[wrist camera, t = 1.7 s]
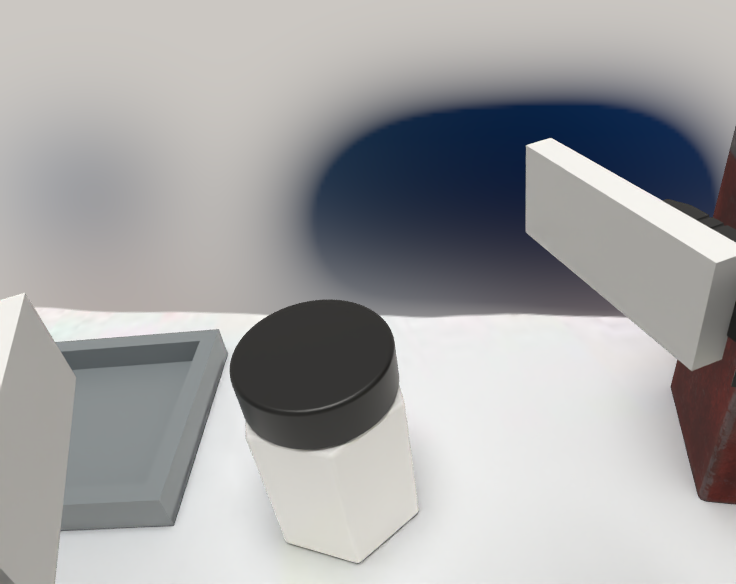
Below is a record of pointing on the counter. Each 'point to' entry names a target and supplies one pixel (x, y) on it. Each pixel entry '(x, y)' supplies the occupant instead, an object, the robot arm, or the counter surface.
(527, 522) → the counter surface
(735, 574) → the counter surface
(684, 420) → the red square bottle
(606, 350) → the counter surface
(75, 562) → the counter surface
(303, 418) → the jar
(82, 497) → the tray
